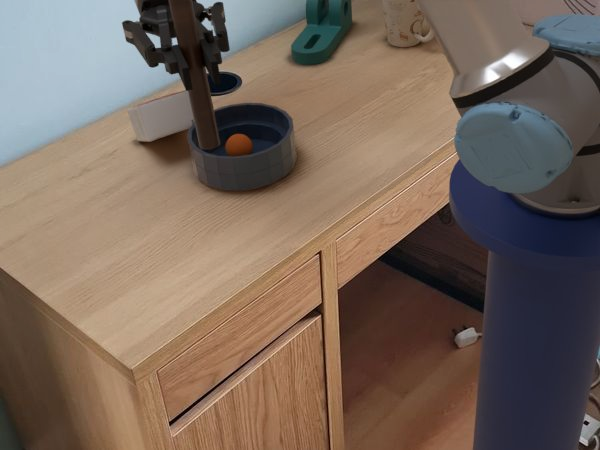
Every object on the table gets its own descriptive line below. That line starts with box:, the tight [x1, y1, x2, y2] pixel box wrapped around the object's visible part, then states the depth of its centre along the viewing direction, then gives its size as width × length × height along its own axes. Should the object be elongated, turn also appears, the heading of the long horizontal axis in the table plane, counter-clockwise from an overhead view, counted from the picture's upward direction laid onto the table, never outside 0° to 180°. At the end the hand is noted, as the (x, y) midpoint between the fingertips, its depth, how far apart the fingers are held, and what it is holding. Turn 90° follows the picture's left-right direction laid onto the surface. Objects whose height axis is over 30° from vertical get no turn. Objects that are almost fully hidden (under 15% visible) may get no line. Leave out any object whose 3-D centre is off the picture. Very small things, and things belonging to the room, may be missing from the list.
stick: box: [168, 0, 220, 150], centre depth 93 cm, size 3×3×20 cm
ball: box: [226, 134, 253, 157], centre depth 116 cm, size 4×4×4 cm
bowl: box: [187, 102, 298, 192], centre depth 115 cm, size 15×15×6 cm
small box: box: [126, 89, 194, 143], centre depth 120 cm, size 8×6×10 cm
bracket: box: [290, 0, 353, 66], centre depth 144 cm, size 18×7×8 cm, turn 160°
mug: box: [381, 0, 435, 48], centre depth 140 cm, size 8×13×10 cm, turn 36°
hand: (201, 75), depth 88 cm, fingers closed on stick, 3 cm apart
